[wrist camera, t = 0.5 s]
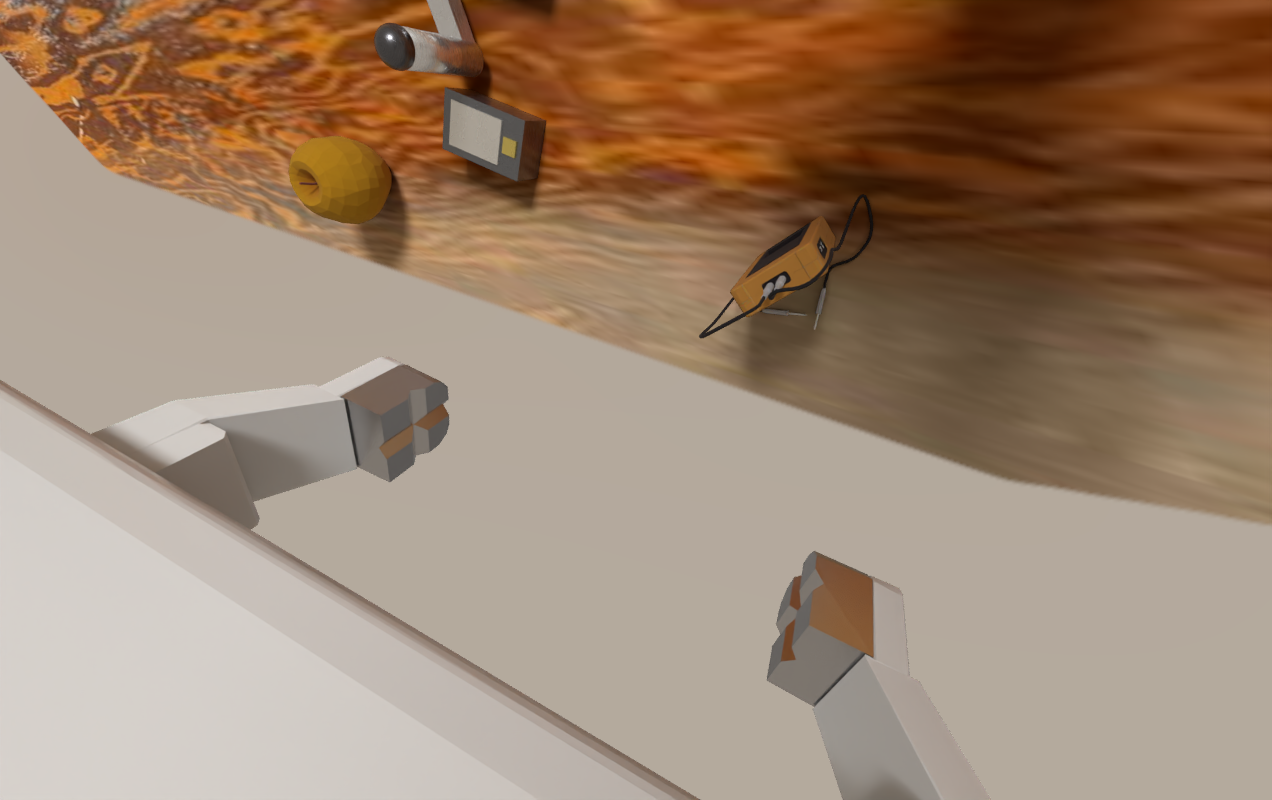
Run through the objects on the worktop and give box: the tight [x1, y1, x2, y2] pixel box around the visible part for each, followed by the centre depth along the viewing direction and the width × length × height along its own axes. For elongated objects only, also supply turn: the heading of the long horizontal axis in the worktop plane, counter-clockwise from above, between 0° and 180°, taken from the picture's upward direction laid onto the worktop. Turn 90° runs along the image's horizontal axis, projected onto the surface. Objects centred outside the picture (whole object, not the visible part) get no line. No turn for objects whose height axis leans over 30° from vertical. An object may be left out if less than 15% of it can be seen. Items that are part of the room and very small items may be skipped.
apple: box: [289, 136, 391, 224], centre depth 59 cm, size 10×10×12 cm
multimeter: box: [699, 194, 873, 338], centre depth 40 cm, size 15×10×20 cm
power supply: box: [443, 87, 546, 182], centre depth 52 cm, size 6×10×4 cm, turn 72°
